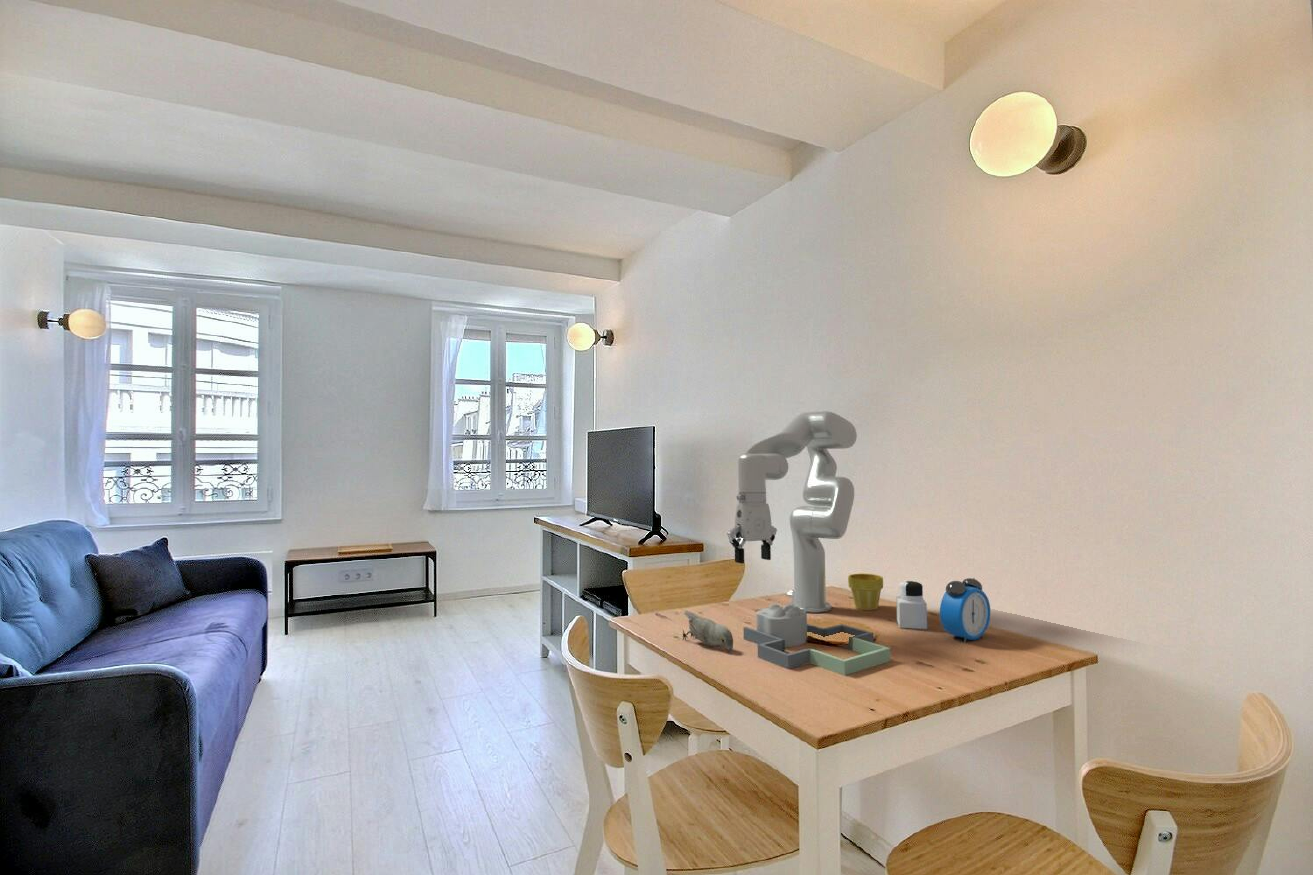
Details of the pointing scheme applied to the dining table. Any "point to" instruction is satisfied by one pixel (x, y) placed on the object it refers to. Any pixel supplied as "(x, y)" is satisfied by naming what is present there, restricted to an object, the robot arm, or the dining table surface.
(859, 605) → the plant pot
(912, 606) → the medicine bottle
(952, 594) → the alarm clock
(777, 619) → the lumpy-topped squat cylinder
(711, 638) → the decorative bird
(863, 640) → the lane box
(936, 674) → the dining table surface
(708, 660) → the dining table surface
